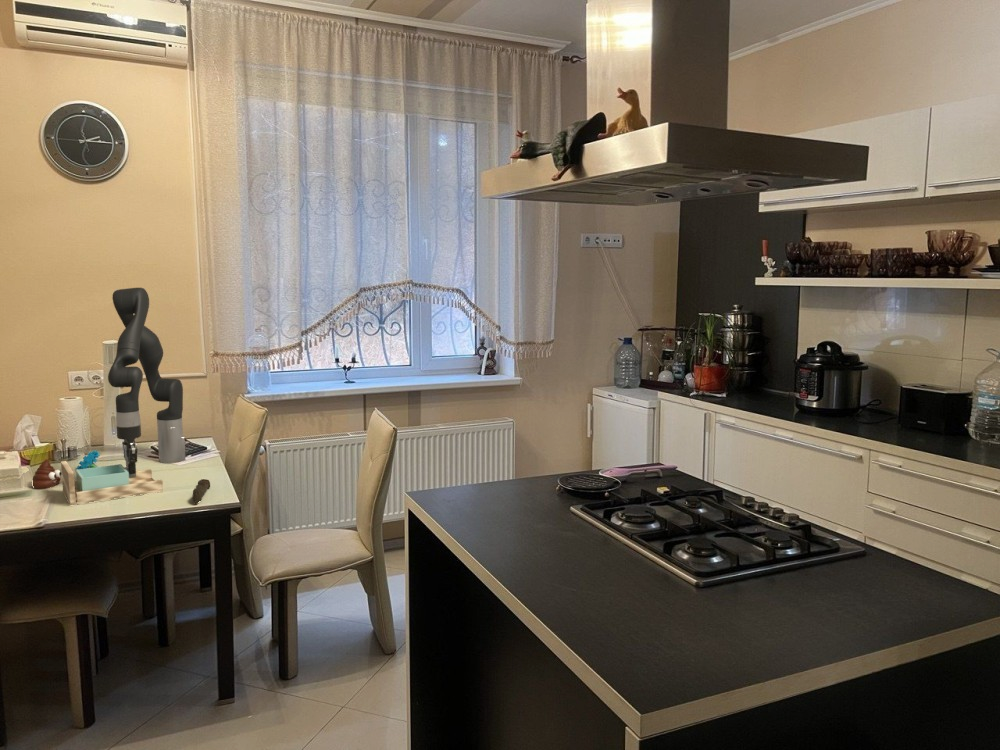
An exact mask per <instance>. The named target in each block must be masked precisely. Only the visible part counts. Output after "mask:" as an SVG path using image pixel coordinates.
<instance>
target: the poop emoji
mask: <svg viewBox="0 0 1000 750" xmlns="http://www.w3.org/2000/svg"><path fill="white" fill-rule="evenodd" d="M61 477H62V471H61V470H60V469H55V468H54V466H52V465H51V463H50V461H49V460H48V459H44V460H43V461H42V462H41V463H40V464H39V466H38V467H37V469H36V471H35V472H34V475H33V476H32V480H33V486H34V488H35V490H45V489H50V487H51V488H52V487H55V486H56V485H59V484H60V483H61V482H62V478H61ZM32 480H31V481H32ZM34 488H33V489H34Z"/></svg>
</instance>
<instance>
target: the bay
mask: <svg viewBox="0 0 1000 750" xmlns="http://www.w3.org/2000/svg"><path fill="white" fill-rule="evenodd" d="M60 467H61V468H60V469H61V470H60V471H61V482H62V484H61V485H62V493H64V494H63V495H64V497H65V499H66V500H68V501H67V502H68V504H69V506H70V505H76V504H82V503H89V502H94V501H101V500H108V499H114V498H120V497H126V496H133V495H140V494H147V493H153V494H158V493H157V492H159V493H163V492H164V484H163V480H162V479H157V480H155V479H154V478H153V475H152V474H153V473H152V469H143V470H136V477H135V478H129V485H122V486H115V487H108V488H102V489H95V490H88V491H81V492H79V491H78V490H77V480H76V479H75V473H74V471H73V469H72V468H71V467H70V465H69V463H68V462H67V461H66V460H64V461H60ZM155 492H156V493H155ZM147 495H148V494H147ZM140 496H141V495H140ZM108 501H109V500H108ZM89 504H90V503H89ZM76 506H77V505H76Z"/></svg>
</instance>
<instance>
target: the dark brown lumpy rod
mask: <svg viewBox="0 0 1000 750" xmlns="http://www.w3.org/2000/svg"><path fill="white" fill-rule="evenodd" d="M210 488H211V481H210V480H209V479H204V478H203V479H202V478H201V479H199V480H198V481H197V485H195V488H194V489H193V491H192V500H193V504H194V503H195V504H196V503H198V502H199V501H201V500H203V497H204V496H205V494H206V492H207V490H209V489H210ZM201 502H202V501H201ZM195 504H194V505H195ZM198 504H199V503H198ZM196 505H197V504H196Z"/></svg>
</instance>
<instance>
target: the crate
mask: <svg viewBox="0 0 1000 750" xmlns="http://www.w3.org/2000/svg"><path fill="white" fill-rule="evenodd" d="M131 459H134V457H133V458H131ZM135 464H136V465H137V462H136V463H135ZM125 465H126V466H123V464H121V463H120V464H112V465H111V464H110V465H104V466H97V467H95V468H87V469H80V470H78V469H75V475H76V476H75V478H76V479H75V480H77V490H78V491H79V492H81V491H88V490H95V489H102V488H108V487H115V486H122V485H129V478H135V477H136V473H135V474H129V471H128V459H127V457H126V461H125Z"/></svg>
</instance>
